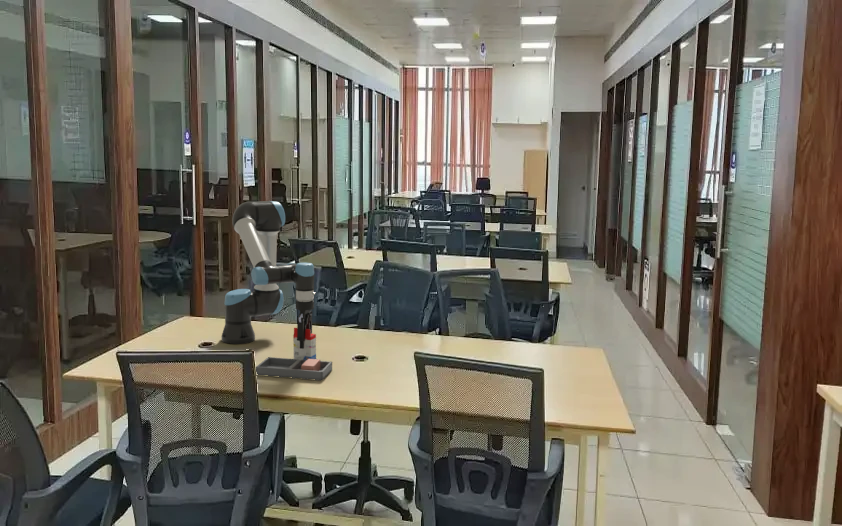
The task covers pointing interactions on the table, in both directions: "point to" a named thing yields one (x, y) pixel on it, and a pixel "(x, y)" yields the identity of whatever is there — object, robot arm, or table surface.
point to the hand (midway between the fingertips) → (304, 353)
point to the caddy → (292, 368)
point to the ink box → (309, 345)
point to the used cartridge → (311, 365)
